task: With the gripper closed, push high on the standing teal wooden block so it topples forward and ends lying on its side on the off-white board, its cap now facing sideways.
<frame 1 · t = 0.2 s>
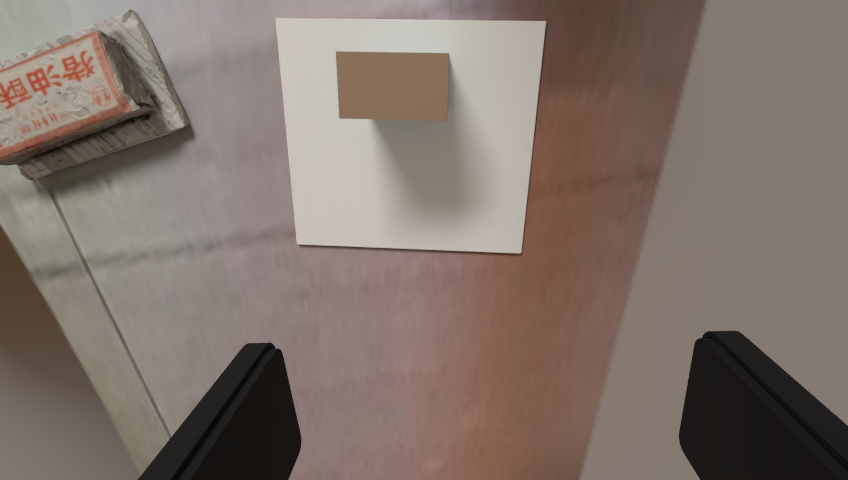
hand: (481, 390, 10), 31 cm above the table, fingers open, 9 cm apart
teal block: (408, 85, 36), resting on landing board
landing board: (408, 144, 38), on the table
packaged product: (88, 101, 39), on the table
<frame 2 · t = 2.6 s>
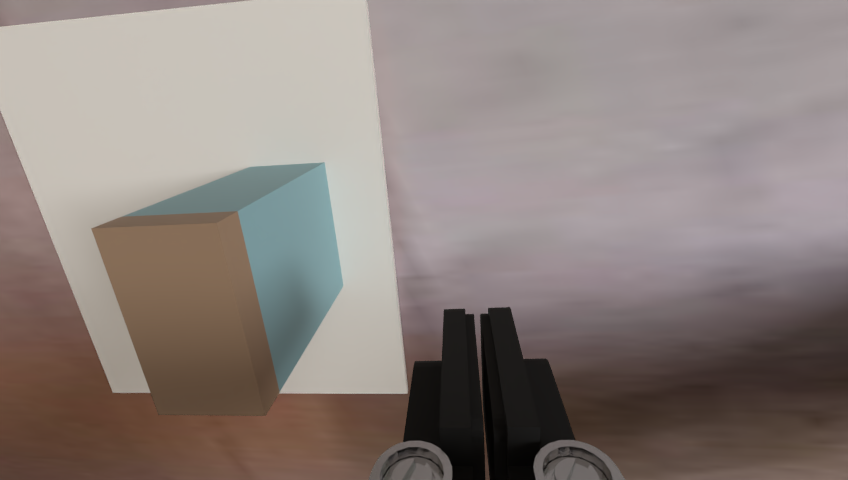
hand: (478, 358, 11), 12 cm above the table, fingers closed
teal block: (298, 228, 23), resting on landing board
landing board: (216, 230, 24), on the table
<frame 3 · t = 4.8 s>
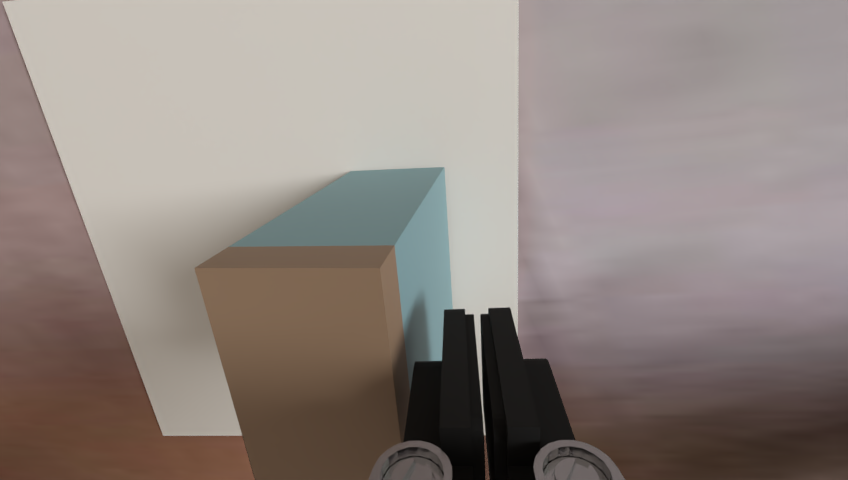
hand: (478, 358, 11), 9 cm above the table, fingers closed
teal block: (404, 247, 19), point 1 cm above the table, tilted 6°, touching gripper, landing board
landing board: (300, 247, 20), on the table
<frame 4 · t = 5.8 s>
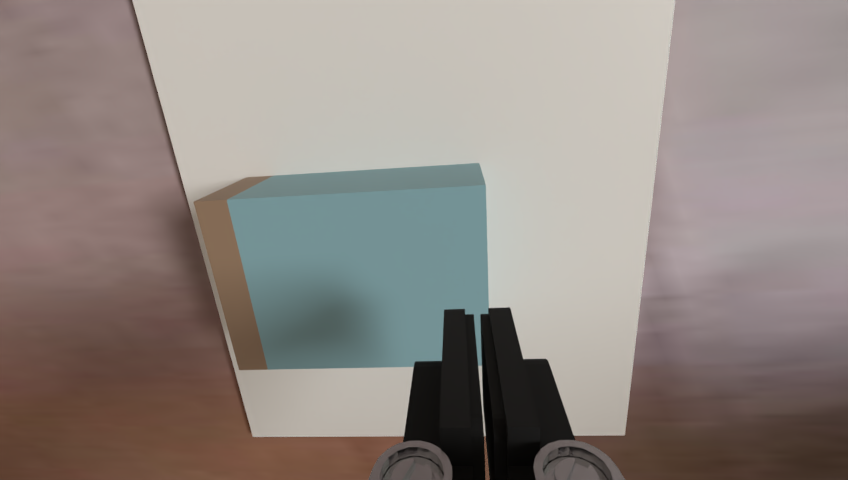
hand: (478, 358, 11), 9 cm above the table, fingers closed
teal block: (484, 260, 17), point 2 cm above the table, tilted 90°, touching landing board
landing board: (415, 242, 19), on the table
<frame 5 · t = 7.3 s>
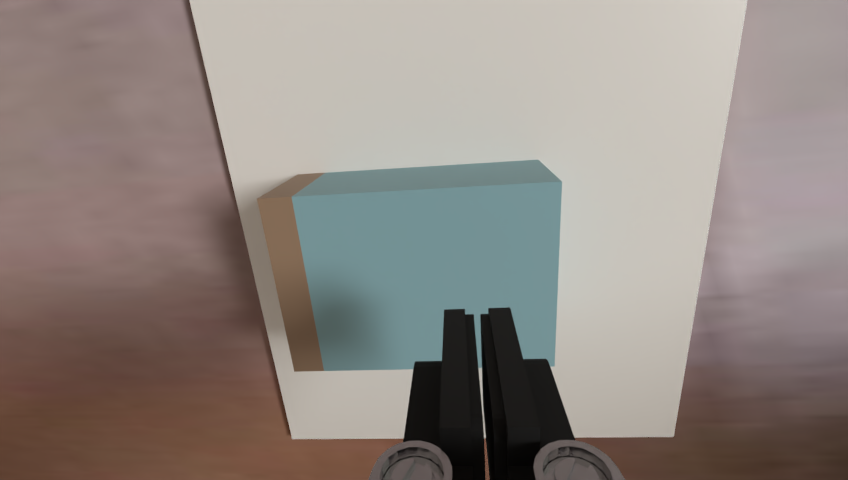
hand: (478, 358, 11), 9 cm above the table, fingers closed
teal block: (546, 258, 16), point 2 cm above the table, tilted 90°, touching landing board
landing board: (467, 240, 19), on the table
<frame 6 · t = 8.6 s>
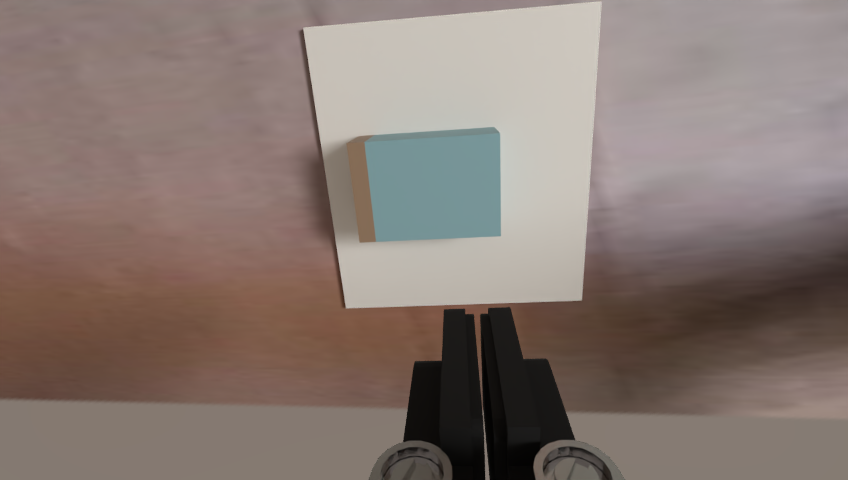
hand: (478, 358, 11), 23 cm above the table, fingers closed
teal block: (497, 180, 30), point 2 cm above the table, tilted 90°, touching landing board
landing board: (455, 175, 32), on the table
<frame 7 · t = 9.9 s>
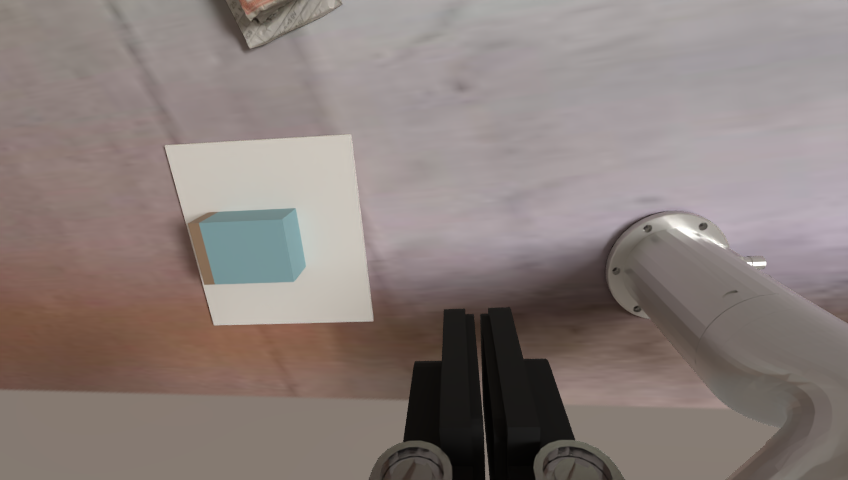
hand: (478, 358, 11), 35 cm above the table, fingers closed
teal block: (294, 244, 46), point 2 cm above the table, tilted 90°, touching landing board
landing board: (276, 237, 48), on the table
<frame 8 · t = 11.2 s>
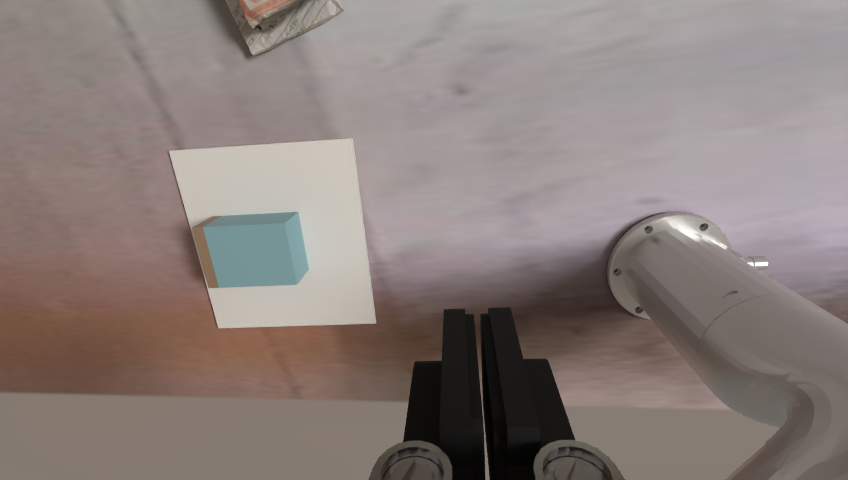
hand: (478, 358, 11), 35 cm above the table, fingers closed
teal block: (297, 247, 46), point 2 cm above the table, tilted 90°, touching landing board
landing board: (279, 241, 49), on the table
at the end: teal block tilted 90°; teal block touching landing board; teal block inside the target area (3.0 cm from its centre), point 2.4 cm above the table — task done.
